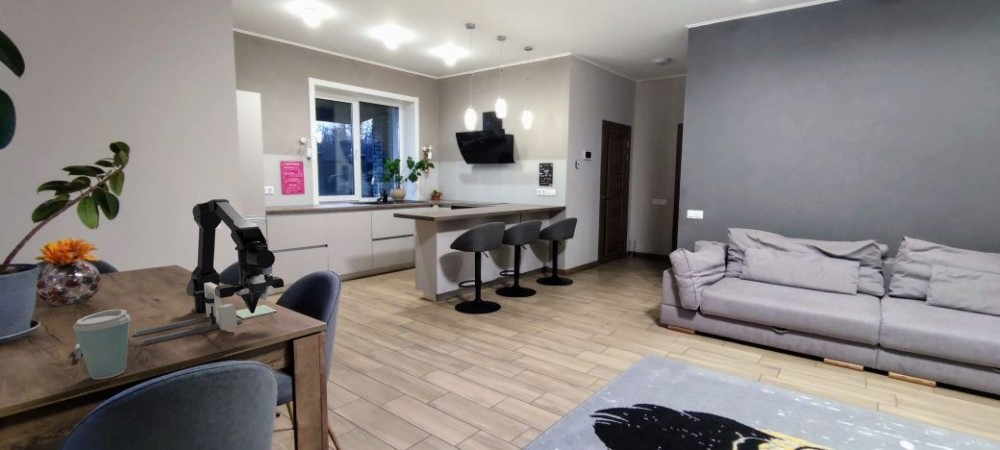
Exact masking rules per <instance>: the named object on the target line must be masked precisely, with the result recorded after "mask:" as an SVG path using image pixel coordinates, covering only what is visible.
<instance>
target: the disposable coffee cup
mask: <svg viewBox="0 0 1000 450" xmlns="http://www.w3.org/2000/svg"><path fill="white" fill-rule="evenodd" d="M130 316H131V315H130V314H128V313H127V310H126V309H108V310H104V311H99V312H95V313H91V314H89V315H85V316H84V317H82V318H79V319H77V321H76V322H75V323H74V324H73V326H72V331H74V334H75V336H76V337H75V338H76V340H77V342H78V343H79V345H80V348H81V351H82V354H81V355H82V357H83V360H84V362H85V363H84V364H85V365H86V367H87V371H88V374H89V376H90V377H91V379H93V380H106V379H110V378H114V377H116V376H120V375H121V374H123V373H125V372H126V368H127V361H128V360H127V359H128V346H129V345H128V344H129V328H130V324H129V323H130V321H131V317H130ZM78 343H77V344H78Z"/></svg>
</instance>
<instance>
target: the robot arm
mask: <svg viewBox="0 0 1000 450" xmlns="http://www.w3.org/2000/svg"><path fill="white" fill-rule="evenodd" d="M192 215H193V221H194V222H195V223H196V224H197V226H198V244H197V245H198V246H197V265H196V267H195V268H194V270H193V271H192V272H191V275H190V280H189V282H188V283H187V286H186V288H185V290H186V294H187V296H190V297H193V302H194V307H193V308H191V311H192V312H194V313H195V314H201V313H205V312H206V303H205V300H204V298H205V289H204V283H209V282H211V283H213V284H215V285H217V286H216V288H215V295H216V296H218V297H219V298H223V299H224V298H226V299H227V298H230V297H233V296H234V295H237V296H239V297H241V299H242V300H243V302H244V304H245V306H246V307H247V308H248V309H249V311H250V313H251V314H252V313H254V312H255V309H256V307H257V305H258V302H259V300H260V298H261V296H262V295H263V294H265V293H266V292H267V289H268V287H272V288H273V289H279V288H284V287H285V281H284V279H283V278H281V277H279V276H273V274H272V273H265V274H263V273H262V269H269V268H271V267H272V266H273V265H274V263H275V261H276V256H275V254H274V252H273V251H271V250H269V246H268V243H267V241H268V240H267V239H266V237H265V236H264V234H263V232H262V229H261V228H260V227H259V226H258V225H257V224H256V223H254V222H253V221H249V220H246V219H245V218H243V217H242V216H241V214H240V213H239V212H238V211H237V210H236V209H235V208H234V207H233V205H231V204H230V201H229V200H228V199H227V198H218V199H217V198H216V199H215V198H214V199H210V200H208V201H206V202H205V201H204V202H202V203H196V205H194V206H193V208H192ZM222 222H223V223H224V224H225V225H226V226H227V228H229V230H230V231H231V232H230V237H231V239H232V241H233V242H234V244H235V245H236V246H235V247H234V250H235V251H237V261H238V262H237V263H238V267H237V272H238V275H239V280H238V284H239V285H235V286H234V285H231V284H230V283H229V284H223V285H222V284H221V285H220V282H221V280H220V273H219V272H217V270H216V269H215V267H214V265H215V263H214V262H215V248H216V232H217V231H216V230H217V228H218V227H219V225H220V224H221V223H222Z"/></svg>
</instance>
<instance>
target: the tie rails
mask: <svg viewBox="0 0 1000 450" xmlns="http://www.w3.org/2000/svg"><path fill="white" fill-rule="evenodd" d="M204 322H210V316H209V317H207V315H206V316H202V317H197V318H193V319H192V318H191V319H188V320H187V319H186V320H183V321H177V322H173V323H168V324H163V325H157V326H153V327H148V328H143V329H138V330H134V335H135V337H138V336H142V335H148V334H153V333H157V332H162V331H166V330H172V329H176V328H181V327H185V326H191V325H195V324H201V323H204ZM242 323H243V319H242V318H237V325H240V324H242ZM217 329H220V327H219V324H212V323H211V325H210V324H207V325H204V326H199V327H193V328H191V329H185V330H181V331H176V332H172V333H167V334H162V335H157V336H154V337H153V336H152V337H148V338H144V339H141V341H142V345H143V346H145V345H150V344H154V343H158V342H163V341H167V340H172V339H177V338H181V337H186V336H190V335H195V334H199V333H205V332H207V331H213V330H217Z"/></svg>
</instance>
